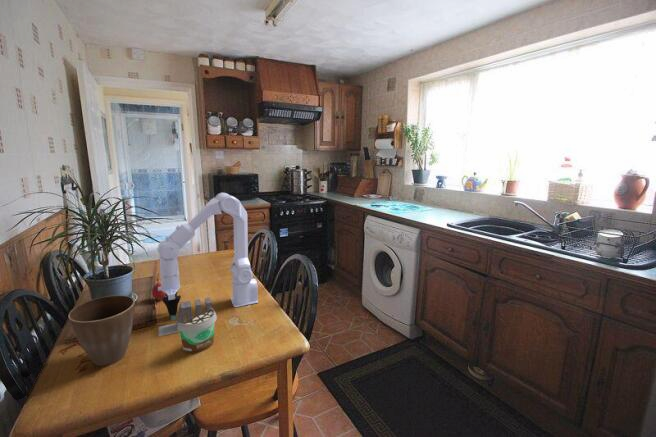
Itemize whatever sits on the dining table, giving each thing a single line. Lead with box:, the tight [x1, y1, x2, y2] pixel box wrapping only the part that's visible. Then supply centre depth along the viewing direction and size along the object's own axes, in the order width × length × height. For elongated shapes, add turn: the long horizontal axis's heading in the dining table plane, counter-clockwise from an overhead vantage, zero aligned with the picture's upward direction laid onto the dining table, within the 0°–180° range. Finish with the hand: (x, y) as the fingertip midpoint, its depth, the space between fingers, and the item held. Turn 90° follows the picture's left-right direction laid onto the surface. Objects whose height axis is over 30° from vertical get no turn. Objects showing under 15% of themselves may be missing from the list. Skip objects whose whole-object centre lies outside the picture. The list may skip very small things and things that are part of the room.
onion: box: [151, 280, 166, 301], centre depth 124 cm, size 6×6×8 cm
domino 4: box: [194, 298, 203, 316], centre depth 108 cm, size 2×4×8 cm, turn 28°
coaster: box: [158, 322, 180, 337], centre depth 105 cm, size 6×6×1 cm
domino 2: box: [176, 301, 186, 331], centre depth 106 cm, size 2×4×8 cm, turn 28°
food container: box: [177, 307, 218, 354], centre depth 95 cm, size 12×6×10 cm, turn 148°
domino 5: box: [204, 297, 213, 313], centre depth 110 cm, size 2×4×8 cm, turn 28°
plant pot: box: [68, 294, 135, 367], centre depth 88 cm, size 15×15×16 cm
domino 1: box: [170, 314, 177, 322], centre depth 112 cm, size 2×4×8 cm, turn 27°
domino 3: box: [184, 300, 193, 322], centre depth 107 cm, size 2×4×8 cm, turn 28°
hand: (172, 310), depth 112 cm, fingers open, 7 cm apart
